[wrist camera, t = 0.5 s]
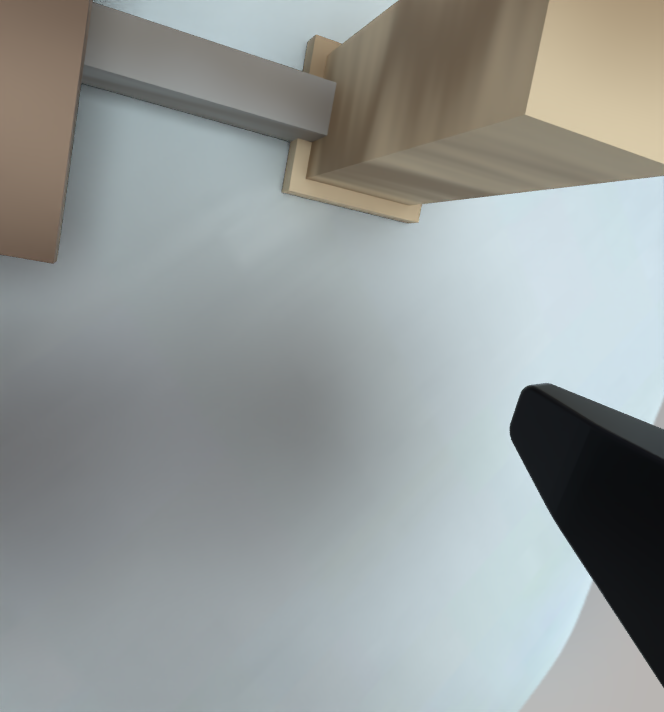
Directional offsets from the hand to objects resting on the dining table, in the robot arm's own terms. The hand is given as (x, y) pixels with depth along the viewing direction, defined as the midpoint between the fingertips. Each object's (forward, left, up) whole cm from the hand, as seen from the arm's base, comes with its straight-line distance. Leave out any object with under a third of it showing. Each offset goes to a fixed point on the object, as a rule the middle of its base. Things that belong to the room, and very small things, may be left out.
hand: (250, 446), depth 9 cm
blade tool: (+7, -3, -13) cm, 15 cm away
